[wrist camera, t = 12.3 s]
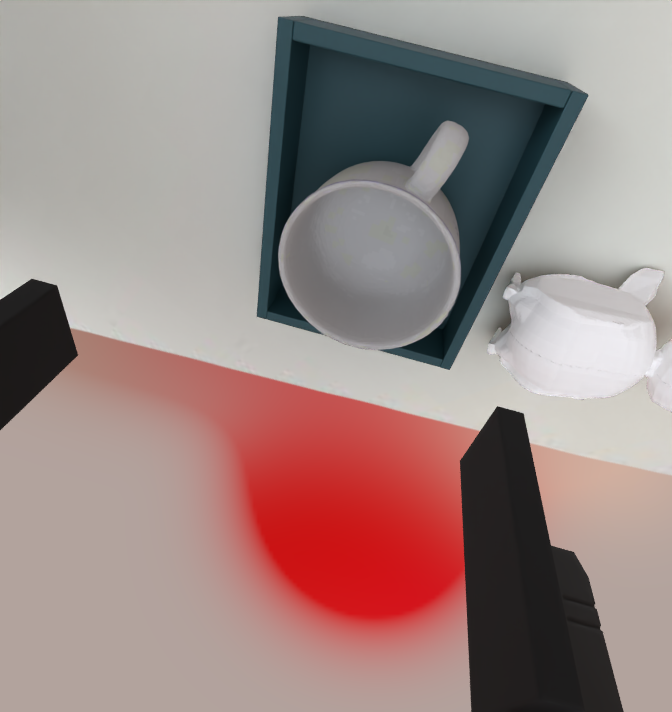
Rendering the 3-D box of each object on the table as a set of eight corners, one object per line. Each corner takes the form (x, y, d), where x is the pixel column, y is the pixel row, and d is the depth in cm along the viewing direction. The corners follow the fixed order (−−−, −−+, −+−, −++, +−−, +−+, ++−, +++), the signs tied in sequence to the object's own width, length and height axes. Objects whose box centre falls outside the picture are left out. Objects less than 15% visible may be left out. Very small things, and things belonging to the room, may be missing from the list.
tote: (274, 287, 36) (256, 316, 33) (302, 15, 24) (277, 16, 21) (449, 335, 36) (449, 370, 32) (568, 82, 23) (589, 94, 20)
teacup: (385, 314, 35) (372, 377, 29) (281, 228, 32) (242, 279, 26) (533, 186, 27) (559, 237, 21) (411, 54, 24) (399, 69, 18)
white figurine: (503, 329, 38) (704, 393, 31) (471, 383, 32) (707, 474, 26) (531, 239, 32) (782, 295, 26) (499, 286, 27) (806, 371, 20)
